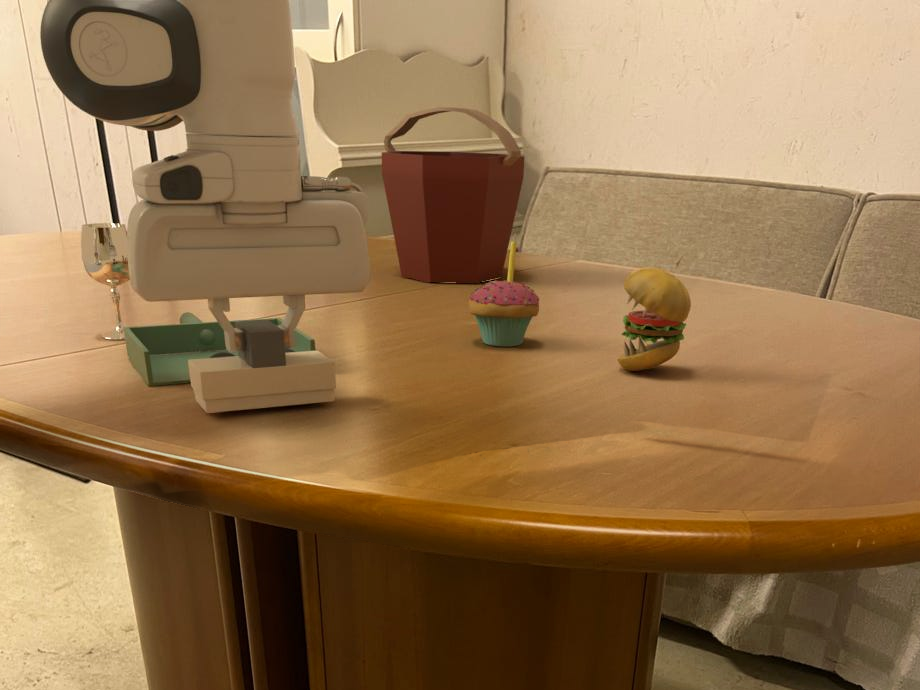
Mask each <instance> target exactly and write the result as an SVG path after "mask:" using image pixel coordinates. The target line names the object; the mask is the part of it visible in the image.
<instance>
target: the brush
mask: <svg viewBox="0 0 920 690" xmlns="http://www.w3.org/2000/svg"><path fill="white" fill-rule="evenodd" d="M235 325H236V328H241V329H242V330H243V331H245V339H246V340H245V343H246V351H243V352H238V356H233V357H219V358H205V359H191V360H188V365H189V373H190V381H191V383H190V387H191V388H192V389H193V391H194V392H193V393H194V399H195V401H196V402H197V404H198V405H199V406H200V407H201V408H202V409H203V410H204V412H205V413H206V414H213V413H224V412H235V411H244V410H245V411H246V410H255V409H266V408H277V407H286V406H298V405H307V404H318V403H319V404H320V403H330V402H331V403H332V402H334V401H335V400H334V399H335V397H334V390H336V389H337V379H336V362H335V361H334V360H332V359H331V358H329V357H328V356H326V355H325V354H323V353H322V352H320V351H319V350H315V351H304V352H289V353H285V341H284V331H283V330H282V329H281V328H279V327H278V326H276V325H275V324H273V323H272V322H270V321H269V320H258V321H240V322H235Z"/></svg>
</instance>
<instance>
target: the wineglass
mask: <svg viewBox="0 0 920 690" xmlns="http://www.w3.org/2000/svg"><path fill="white" fill-rule="evenodd" d="M80 236H81V237H80V252H81V260H82V264H83V267H84V269H85V272H86V273H87V275H88V276H89V277H90V278H91V279H92V280H94V281H96V282H98V283H100V284H102V285H105V286H108V287H111V289H110V291H109V292H110V294H109V295H110V298H111V301H112V303H113V307H114V310H115V317H116V326H115V328H114V329H113V330H111V331H109V332H105V333H103V334H101V338H102V339H105V340H113V341H123V340H125V335H124V329H123V327H125V326H124V324H123V321H122V317H121V310H120V300H121V295H120V292H119V290H118V288H117V287H118V286H121V285H123V284H126V283H127V282H130V277H129V269H128V256H127V225H126V224H124V223H113V222H111V223H110V222H102V223H101V222H99V223H96V222H95V223H87V224H82V225H81V234H80Z"/></svg>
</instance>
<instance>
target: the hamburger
mask: <svg viewBox="0 0 920 690" xmlns="http://www.w3.org/2000/svg"><path fill="white" fill-rule="evenodd" d="M682 258H683V255H682V254H681V255H680V257H679V259H678V260H677V261H676V263H675V269H674V271H673V274H672V273H670V272H668V271H666V270H664V269H661V268H657V267H654V266H653V267H652V266H645V267H640V268H637V269H635V270H633V271H632V272H631V273H629V274H628V275H627V276H626V278H625V279H624V283H623V288H624V290H625V292H626V293H627V295H628V298H627V305H628V304H629V303H630V302H631V301H632V300H633V301H634V303H633V306H632V308H631V311H630V312H628V315H627V314H625V315H623V317H622V322H623V325H624V331H622V333H621V336H623V337H625V338H626V339H629V340H628V344H627V342H626V341H625V340H624V342H623V347H624V348H623V352H624V354H622V355H619V356H618V357H617V362H618V364H619V366H620V367H621V368H622V369H624V370H626V371H631V372H637V371H638V372H639V371H644V370H648V369H652V368H655V367H658V366H660V365H663V364H664V363H666V362H668V361H670V360H671V359H672V358H674V357H675V356H676V355H677V354H678V352H679V351H680V347H681V341H684V339H685V336H684V334H683V333H684V329H685V328H686V326H687V323H684V322H685V321H686V320H687V319H688V317H689V314H690V311H691V305H692V302H691V297H690V293H689V291H688V289H687V288H686V286H685V285H684V283H683V282H682V281H681V280H680V279H679V278H677V277H676V276H674V274H675V272H677V271H676V270H677V269H678V267H679V264H680V262H681V260H682ZM638 305H641V306H642V307H644V310H634V309H635V308H636V307H637V306H638ZM637 339H638V347H637V348H636V346H635V345H634V343H633V341H635V340H637ZM661 339H662V340H661ZM644 342H645V343H648V342H652V343H649V344H646V345H645V343H644Z"/></svg>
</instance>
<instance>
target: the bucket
mask: <svg viewBox="0 0 920 690" xmlns="http://www.w3.org/2000/svg"><path fill="white" fill-rule="evenodd" d="M450 112H455V113H456V112H457V113H462V114H466V115H467V116H470V117H471V118H474V119H475V120H476V121H478V122H480V123H482V124H483V125H485V126H486V127H487V128H488V129H489V130H491V131H492V132H493V133H494V134H495V135H497V137H498V139H499V141H500V142H501V144H502V145H503V147H504V148H505V150H506V152H507V153H492V152H469V151H447V150H445V151H444V150H443V151H441V150H440V151H439V150H438V151H435V150H433V151H432V150H431V151H430V150H396V148H395V147H394V145H393V144H392V140H394V139H396V138H399V137H403V136H405V135H406V134H407V133H408V132H409V131H410V130H412V128H413V127H414V126H415V125H416V124H417V122H418V121H419V120H422V119H425V118H428V117H431V116H434V115H438V114H443V113H450ZM383 145H384V150H385V151H382V152H381V177H382V181H383V186H384V191H385V197H386V202H387V207H388V213H389V217H390V222H391V223H390V224H391V228H392V233H393V238H394V243H395V249H396V253H397V257H398V258H397V259H398V264H399V270H400V275H401V277H402V276H403V277H407V278H406V279H408V278H412V279H411V280H413V279H416V280H415V281H417V280H420V281H419V282H422V281H425V282H424V283H427V282H456V283H478V282H482V281H486V280H490V279H495V278H499V277H501V278H502V277H503V273H504V267H505V264H506V258H507V254H508V250H509V245H510V242H511V236H512V231H513V227H514V224H515V223H514V222H515V218H516V214H517V208H518V204H519V199H520V194H521V191H522V186H523V181H524V177H525V176H524V173H525V156H523V155H522V153H521V152H522V151H521V149H520V146H519V145H518V143H517V141H516V140H515V138H514V137H513V135H512V133H511V132H510V131H509V130H508V129H507V128H505V126H503V125H502V124H501V123H499V122H498V121H497V120H495V119H493V118H492V117H490V116H488V115H487V114H485V113H483V112H481V111H479V110H477V109H471V108H464V107H448V106H447V107H443V106H440V107H439V106H438V107H434V108H428V109H423V110H418V111H415V112H411V113H409V114H405V116H404V117H403V118H402V120H400V122H398V124H396V125H395V126H394V128H392V130H390V131H389V132H388V133H387V134H386V135H385V136H384V140H383ZM403 277H402V278H403Z"/></svg>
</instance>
